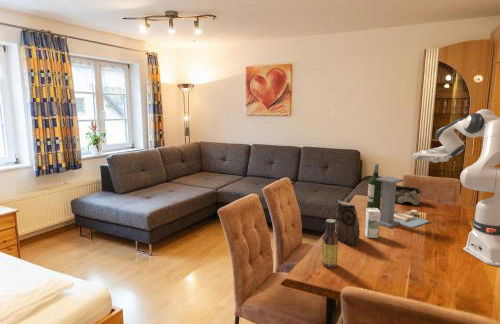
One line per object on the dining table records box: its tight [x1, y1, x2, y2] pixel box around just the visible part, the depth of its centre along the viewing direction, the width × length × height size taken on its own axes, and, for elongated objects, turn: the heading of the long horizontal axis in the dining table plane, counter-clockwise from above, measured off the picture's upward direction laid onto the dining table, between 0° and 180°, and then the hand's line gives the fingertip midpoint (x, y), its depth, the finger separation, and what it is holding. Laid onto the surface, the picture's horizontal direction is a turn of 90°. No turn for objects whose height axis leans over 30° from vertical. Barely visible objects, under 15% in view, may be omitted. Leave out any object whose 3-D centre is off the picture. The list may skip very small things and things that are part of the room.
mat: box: [380, 210, 430, 229], centre depth 195 cm, size 18×24×1 cm
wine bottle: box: [366, 162, 383, 211], centre depth 211 cm, size 8×8×30 cm
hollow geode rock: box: [381, 184, 422, 206], centre depth 227 cm, size 28×13×15 cm
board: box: [394, 209, 419, 222], centre depth 198 cm, size 20×10×2 cm, turn 123°
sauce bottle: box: [321, 218, 339, 269], centre depth 138 cm, size 6×6×20 cm
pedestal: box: [376, 175, 404, 229], centre depth 185 cm, size 10×10×26 cm
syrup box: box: [364, 207, 381, 239], centre depth 168 cm, size 6×6×14 cm
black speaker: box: [334, 199, 361, 247], centre depth 163 cm, size 13×13×20 cm
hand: (423, 159), depth 197 cm, fingers open, 8 cm apart
